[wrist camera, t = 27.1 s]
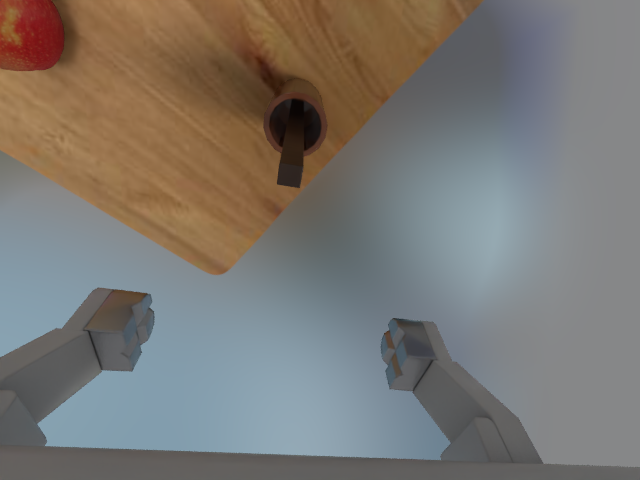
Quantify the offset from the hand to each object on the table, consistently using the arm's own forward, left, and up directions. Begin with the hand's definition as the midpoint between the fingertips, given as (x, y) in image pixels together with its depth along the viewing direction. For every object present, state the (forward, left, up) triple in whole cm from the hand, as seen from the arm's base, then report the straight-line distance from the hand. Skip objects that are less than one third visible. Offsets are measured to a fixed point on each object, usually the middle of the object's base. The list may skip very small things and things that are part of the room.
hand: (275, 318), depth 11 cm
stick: (0, 0, -34) cm, 34 cm away
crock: (0, 0, -35) cm, 35 cm away
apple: (+29, -3, -35) cm, 46 cm away
